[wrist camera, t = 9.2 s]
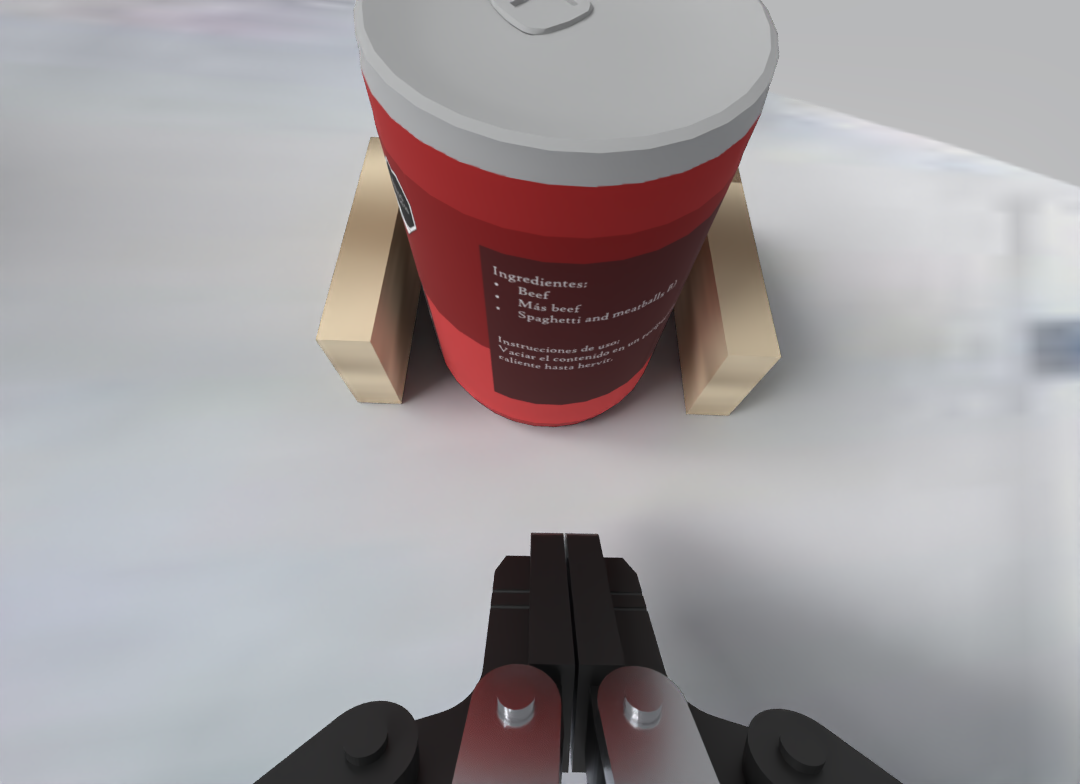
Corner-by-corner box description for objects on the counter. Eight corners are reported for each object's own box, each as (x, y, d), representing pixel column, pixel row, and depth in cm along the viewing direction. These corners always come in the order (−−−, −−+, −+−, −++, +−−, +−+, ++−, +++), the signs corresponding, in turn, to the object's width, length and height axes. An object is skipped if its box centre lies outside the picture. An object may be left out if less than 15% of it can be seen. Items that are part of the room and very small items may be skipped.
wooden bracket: (728, 415, 18) (781, 357, 14) (358, 402, 17) (315, 339, 14) (699, 235, 21) (734, 153, 18) (396, 222, 21) (370, 136, 18)
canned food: (518, 230, 21) (516, -125, 11) (684, 323, 19) (851, -7, 9) (394, 353, 18) (246, 17, 8) (574, 478, 16) (653, 229, 7)
